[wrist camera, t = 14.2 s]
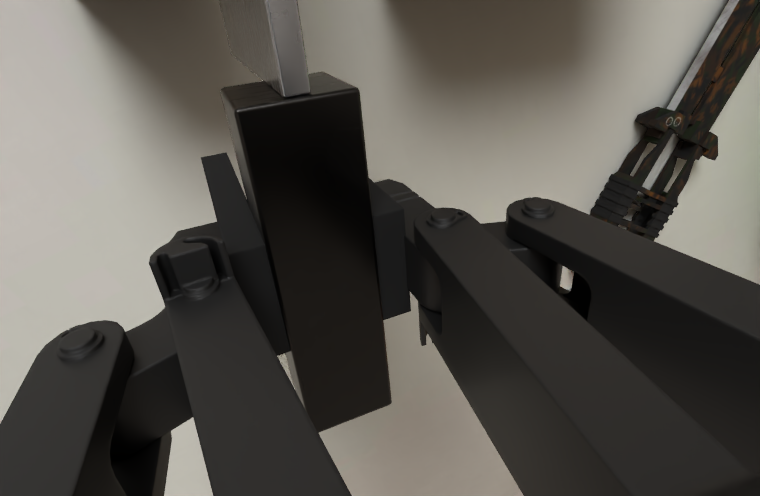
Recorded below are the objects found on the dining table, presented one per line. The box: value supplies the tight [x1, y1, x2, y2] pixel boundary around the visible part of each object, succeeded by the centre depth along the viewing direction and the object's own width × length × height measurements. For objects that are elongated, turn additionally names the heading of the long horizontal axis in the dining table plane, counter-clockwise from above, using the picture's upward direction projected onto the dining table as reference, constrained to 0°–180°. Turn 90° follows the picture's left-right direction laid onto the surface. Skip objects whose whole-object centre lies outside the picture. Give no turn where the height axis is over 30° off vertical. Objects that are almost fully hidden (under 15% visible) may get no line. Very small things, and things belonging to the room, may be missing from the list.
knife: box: [591, 0, 760, 241], centre depth 26 cm, size 25×6×1 cm, turn 151°
